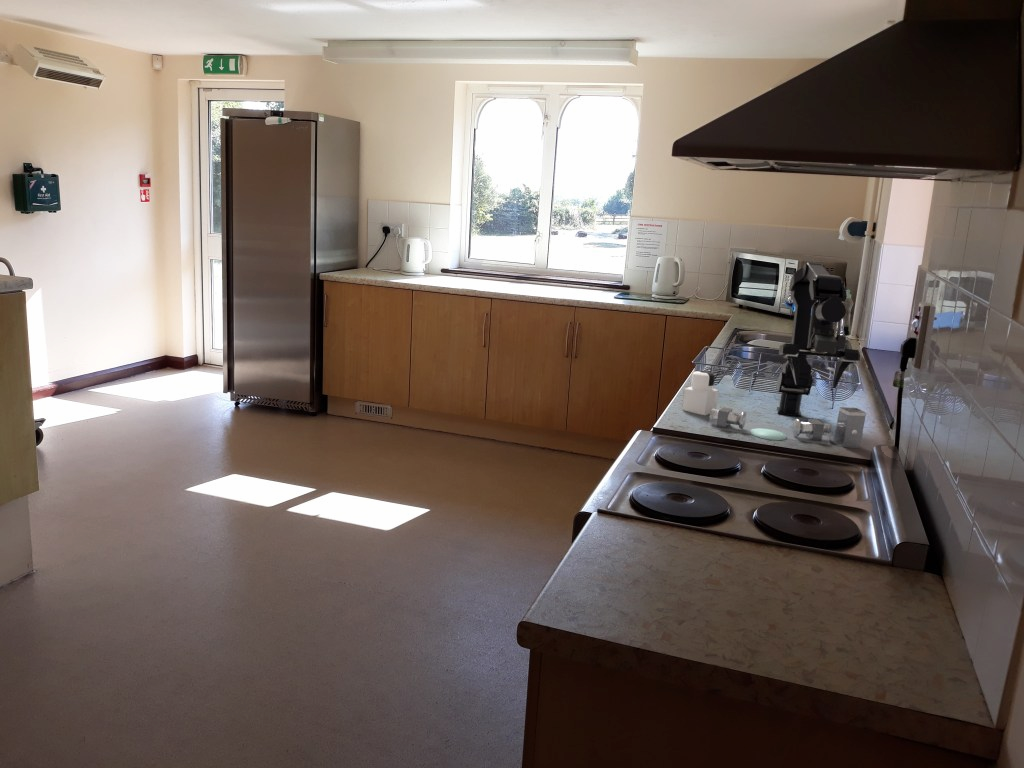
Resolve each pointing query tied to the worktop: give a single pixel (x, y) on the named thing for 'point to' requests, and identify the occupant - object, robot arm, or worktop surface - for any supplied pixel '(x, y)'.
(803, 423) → the shaft
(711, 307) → the worktop surface
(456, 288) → the worktop surface
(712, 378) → the medicine bottle
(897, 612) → the worktop surface
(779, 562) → the worktop surface
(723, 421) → the shaft
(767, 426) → the coupling board
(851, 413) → the block
